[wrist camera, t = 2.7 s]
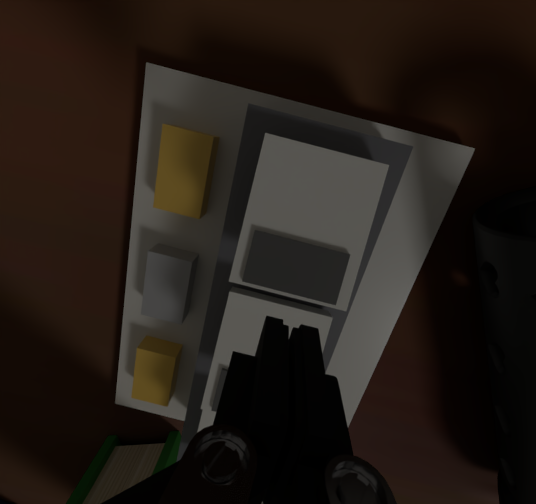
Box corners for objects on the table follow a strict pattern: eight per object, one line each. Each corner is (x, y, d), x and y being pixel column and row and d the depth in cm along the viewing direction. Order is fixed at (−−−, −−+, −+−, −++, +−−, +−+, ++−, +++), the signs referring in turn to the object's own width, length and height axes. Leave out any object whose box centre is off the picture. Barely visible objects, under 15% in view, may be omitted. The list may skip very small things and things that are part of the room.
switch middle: (232, 286, 18) (228, 292, 16) (328, 310, 18) (333, 318, 16) (205, 396, 18) (199, 411, 17) (297, 419, 18) (299, 436, 17)
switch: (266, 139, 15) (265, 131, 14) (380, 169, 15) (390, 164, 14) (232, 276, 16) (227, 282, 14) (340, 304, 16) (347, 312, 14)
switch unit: (154, 66, 20) (95, 36, 14) (465, 147, 20) (536, 152, 14) (122, 393, 29) (78, 457, 23) (332, 446, 29) (341, 522, 23)
